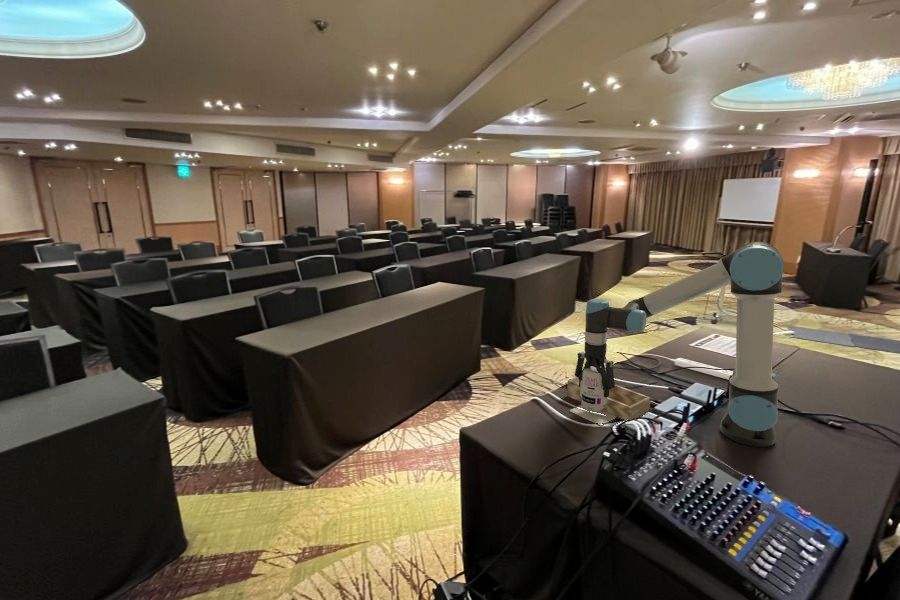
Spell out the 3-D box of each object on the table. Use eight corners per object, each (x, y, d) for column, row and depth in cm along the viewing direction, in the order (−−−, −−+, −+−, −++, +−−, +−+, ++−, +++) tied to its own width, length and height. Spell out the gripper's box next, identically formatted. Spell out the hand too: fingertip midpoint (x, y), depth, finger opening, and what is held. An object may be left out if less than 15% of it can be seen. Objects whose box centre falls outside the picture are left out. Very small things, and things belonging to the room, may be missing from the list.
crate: (649, 412, 154) (650, 394, 153) (629, 423, 147) (630, 405, 146) (587, 387, 177) (587, 372, 175) (567, 396, 170) (567, 380, 168)
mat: (616, 418, 151) (616, 417, 151) (601, 426, 146) (601, 424, 146) (584, 404, 162) (584, 403, 162) (569, 411, 157) (569, 410, 157)
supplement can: (601, 401, 157) (603, 365, 154) (607, 412, 149) (609, 373, 146) (579, 401, 158) (580, 365, 154) (584, 412, 150) (585, 373, 146)
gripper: (628, 347, 141) (624, 407, 146) (578, 333, 158) (576, 387, 163) (615, 352, 137) (612, 413, 142) (565, 337, 154) (563, 393, 159)
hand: (593, 399), depth 153 cm, fingers closed on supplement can, 8 cm apart
